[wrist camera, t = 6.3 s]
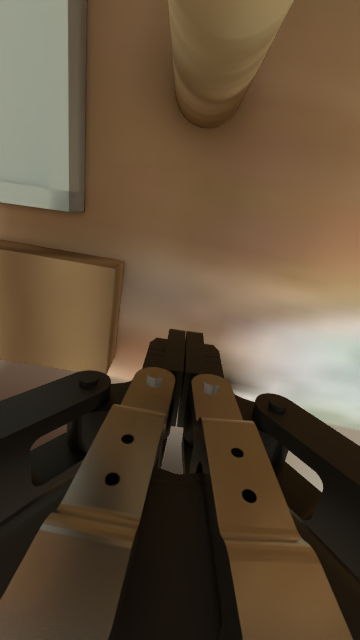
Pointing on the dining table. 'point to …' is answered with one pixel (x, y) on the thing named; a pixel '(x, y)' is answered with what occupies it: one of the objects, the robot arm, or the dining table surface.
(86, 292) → the tan flat block
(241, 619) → the robot arm
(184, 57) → the tan cylinder
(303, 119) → the dining table surface
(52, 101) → the tray
